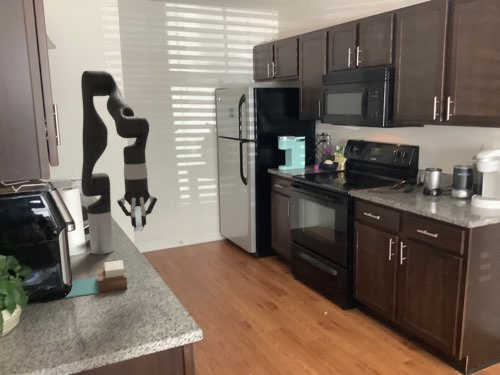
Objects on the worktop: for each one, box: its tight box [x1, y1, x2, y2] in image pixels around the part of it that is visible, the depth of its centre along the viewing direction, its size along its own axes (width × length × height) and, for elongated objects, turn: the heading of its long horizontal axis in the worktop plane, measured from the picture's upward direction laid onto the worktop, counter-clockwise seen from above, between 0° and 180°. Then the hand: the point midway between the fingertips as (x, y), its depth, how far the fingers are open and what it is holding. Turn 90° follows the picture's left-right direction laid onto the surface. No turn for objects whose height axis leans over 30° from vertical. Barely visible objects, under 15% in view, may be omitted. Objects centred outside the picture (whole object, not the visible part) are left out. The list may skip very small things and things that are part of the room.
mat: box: [64, 276, 100, 299], centre depth 145 cm, size 14×10×1 cm
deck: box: [96, 264, 128, 294], centre depth 148 cm, size 13×9×4 cm
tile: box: [104, 259, 125, 278], centre depth 148 cm, size 9×6×2 cm, turn 20°
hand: (138, 226), depth 148 cm, fingers closed
